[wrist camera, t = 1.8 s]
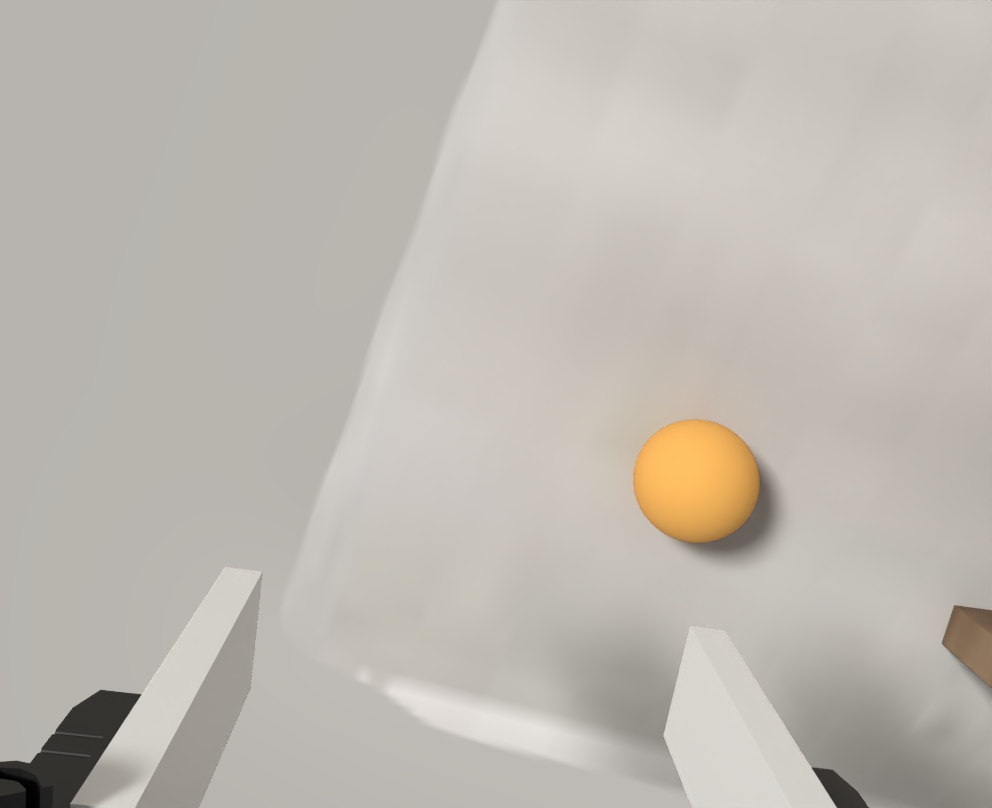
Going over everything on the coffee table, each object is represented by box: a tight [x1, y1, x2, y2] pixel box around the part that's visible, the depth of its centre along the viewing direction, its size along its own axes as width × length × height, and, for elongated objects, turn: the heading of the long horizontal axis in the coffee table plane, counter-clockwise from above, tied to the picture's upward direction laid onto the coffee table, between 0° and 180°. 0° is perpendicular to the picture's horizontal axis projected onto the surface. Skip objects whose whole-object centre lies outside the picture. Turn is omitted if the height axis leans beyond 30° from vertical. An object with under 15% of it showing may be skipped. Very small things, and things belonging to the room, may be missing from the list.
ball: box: [633, 419, 760, 543], centre depth 32 cm, size 5×5×5 cm
